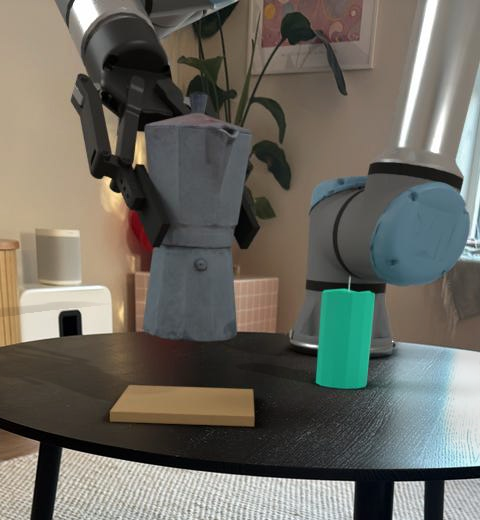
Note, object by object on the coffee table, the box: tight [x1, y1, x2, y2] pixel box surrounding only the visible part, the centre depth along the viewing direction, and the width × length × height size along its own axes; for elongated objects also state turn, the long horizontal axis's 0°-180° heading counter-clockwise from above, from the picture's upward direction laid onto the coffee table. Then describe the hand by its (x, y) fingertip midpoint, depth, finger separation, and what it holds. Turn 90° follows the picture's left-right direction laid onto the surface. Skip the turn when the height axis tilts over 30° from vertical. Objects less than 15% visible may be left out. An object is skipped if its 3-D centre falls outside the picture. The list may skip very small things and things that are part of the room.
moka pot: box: [141, 90, 253, 343], centre depth 67 cm, size 10×15×20 cm, turn 34°
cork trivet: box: [109, 384, 255, 428], centre depth 73 cm, size 13×12×1 cm
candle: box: [315, 277, 375, 390], centre depth 86 cm, size 6×6×12 cm
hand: (207, 237), depth 65 cm, fingers closed on moka pot, 8 cm apart
